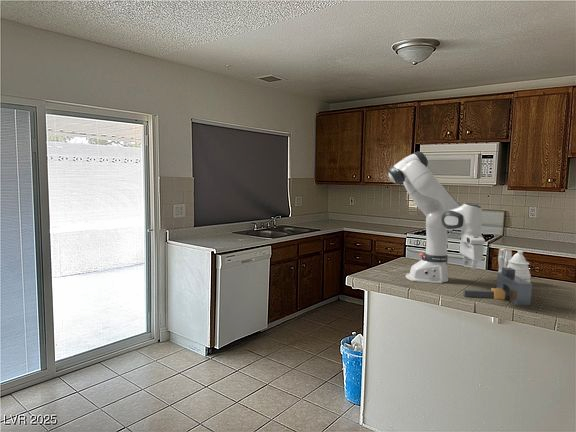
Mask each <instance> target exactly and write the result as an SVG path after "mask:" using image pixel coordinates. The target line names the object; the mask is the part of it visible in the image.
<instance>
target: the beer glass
mask: <svg viewBox="0 0 576 432" xmlns="http://www.w3.org/2000/svg"><path fill="white" fill-rule="evenodd" d="M497 255H498V256H497V261H498V271H497V273H498V272H502V267H507V266H508V264H509V262H508V261H509V260H511V258H512V257H513V256H512V255H513V253H512V249H508V248H499V249H498V254H497Z"/></svg>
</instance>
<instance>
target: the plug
mask: <svg viewBox="0 0 576 432" xmlns="http://www.w3.org/2000/svg"><path fill="white" fill-rule="evenodd" d="M462 291H463V293H462V297H464V298H481V299H494V300H505V299H506V296H505V291H504V290H503V289H500V288H495V287H491V290H482V289H481V290H479V289H463V290H462Z"/></svg>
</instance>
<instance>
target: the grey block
mask: <svg viewBox="0 0 576 432" xmlns="http://www.w3.org/2000/svg"><path fill="white" fill-rule="evenodd" d="M496 276H497V278H496V288H500V289H503V290H504V291H505V297H509V298H508V299H509V300H510V302H511V303H513V304H514V305H515V306H527V307H528V306H529V307H530V306H531V302H532V292H533V291H532V290H533V283H531V282H530V283H529V282H527V281H525V280H523V279H521V278H519V277H518V276H516V275H515V270H514V269H512V268H507V267H502V272H498V271H497V275H496Z"/></svg>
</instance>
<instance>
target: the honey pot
mask: <svg viewBox="0 0 576 432" xmlns="http://www.w3.org/2000/svg"><path fill="white" fill-rule="evenodd" d="M523 254H524V250H517V253H515V254H514V255H513V256H512V258H511V260H509V261H508V262H509V264H508V266H507V268H512V269H514V270H515V275H516V276H518V277H519V278H521V279H523V280H525V281H527V282H529V283H531V276H532V275H531V272H530V268H529V265H530V262H529V261H527V260H526V257H525V256H524V255H523Z"/></svg>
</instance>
